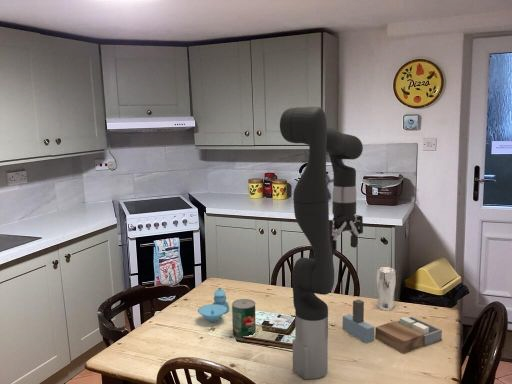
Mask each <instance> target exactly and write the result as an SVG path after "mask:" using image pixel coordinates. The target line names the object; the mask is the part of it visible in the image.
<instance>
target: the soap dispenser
mask: <svg viewBox="0 0 512 384" xmlns="http://www.w3.org/2000/svg"><path fill="white" fill-rule="evenodd" d="M213 295H214V297H213V301H214V302H212V303H211V304H206V305H202V306H200V307H199V308H198V309H197V312H198V314H199V315H201V316H202V317H203V318H204V319H205V320H206V321H208V322H209V323H211V324H212V323H216V322H217V321H218V320H220V318H221V317H222V316H223V315H225V314H228V313H229V312H230V305H229V303H228V302H227V296H226V295H227V293H226V291H225V290H223V288H222V287H218V288H217V289H216V290H215V291H214V292H213Z"/></svg>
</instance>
